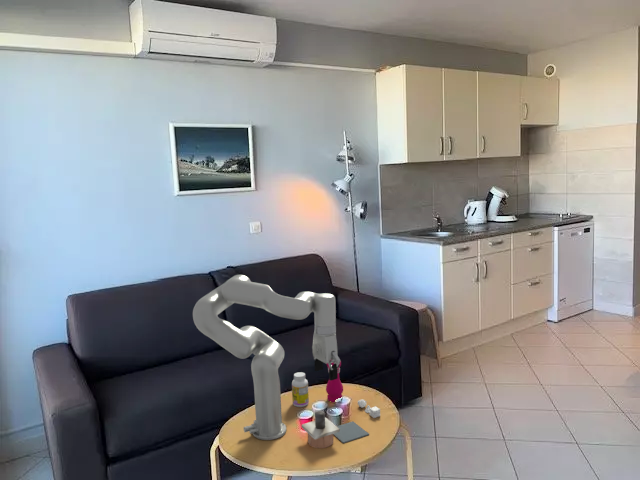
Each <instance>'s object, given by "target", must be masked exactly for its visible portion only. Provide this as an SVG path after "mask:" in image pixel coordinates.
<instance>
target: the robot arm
mask: <svg viewBox="0 0 640 480" xmlns="http://www.w3.org/2000/svg"><path fill="white" fill-rule="evenodd" d="M233 304H238V305H245V306H249V307H253V308H260V309H263V310H265V311H266V312H268V313H270V314H272V315H275V316H277V317H280V318H285V319H289V320H296V321H297V320H304V319H306V318H308V317H309V315H310V314H311V313H314V315H313V318H314V321H313V322H314V332H313V337H312V346H311V349H312V357H313V360H314V371H315V372H319V371H322V370H323V369H324V364H325V365H327V363H328V364H329V367H330V369H329V372H328V381H329V380H330V381H331V380H335V379H337V378H338V371H337V369H338V367H339V364H340V361H341V359H340V357H339V356H338V343H337V342H338V341H337V326H336V325H337V318H336V316H337V315H336V313H337V310H336V309H337V308H336V296H335V295H334V294H331V293H328V292H327V293H326V292H325V293H316V292H312V291H300V292H299V293H297V295H296V296H295V297H290V296H285V295H281V294H278V293H277V292H275V291H274V290H273V289H272V288H271V287H270V285H268V284H264V283H260V282H256V281H255V282H253V281H251V279H250V278H249V277H248V276H246V275H244V274H235V275H233V276H232V277H231V278H229V279H227V280H226V281H224V283H222V284H221V285H219V286H218V287H216V288H215V289H213V290H211V291H209V292H208V293H207V294H205V295H204V296H202V297H201V298H200V299H198V300H197V301H196V303H195V305H194V307H193V309H192V319H193V320H192V321H193V323H194V325H195V326H196V329H198V331H199V332H200V333H201V334H203V335H204V336H206V337H208V338H209V339H211V340H212V341H214V342H215V343H216V344H217V345H219V346H220V347H222V348H223V349H225V350H226V351H227V352H229V353H231V354H232V355H233V356H234V357H236V358H238V359H240V360H241V359H243V360H244V359H247V358H249V357H250V356H251V355H252V354H253V355H254V357H253V358H252V359H251V360H252V361H251V364H250V367H251V368H250V369H251V371H250V372H251V375H252V380H253V390H254V391H253V393H254V407H255V408H254V409H255V419H254V420H253V423H251V425H246V426H243V432H244V433H249V434H252V435H253V437H254V438H256V439H258V440H262V441H271V440H272V441H273V440H276V439H280V438H282V437H283V436H284V435H285V434H286V433H287V425H286V424H285V423H284V422H283V418H282V417H283V415H282V397H281V381H280V376H279V368H280V366H281V364H282V362H283V360H284V359H285V350H284V348H283V346H282V345H281V344H280V343H279V342H277V340H275V339H273V338H272V337H271V336H269V335H268V334H267V333H265V332H264V331H262V330H261V329H259V328H257V327H255V326H254V325H245V326H242V327H240V328H239V327H236V326H234V324H232V323H231V322H230V321H228V320H225V319H222V318H220V317H219V316H218V315H220V314H221V313H222V312H223V311H225V310H226V309H228V308H229V307H231V306H232V305H233ZM330 360H331V361H330ZM333 362H334V364H333V366H332V364H331V363H333ZM339 368H340V367H339Z"/></svg>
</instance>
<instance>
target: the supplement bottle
mask: <svg viewBox="0 0 640 480" xmlns="http://www.w3.org/2000/svg"><path fill="white" fill-rule="evenodd" d="M291 392H292V405H293V406H295V407H298V408H303V407H306V406H308V404H309V402H310V401H309V382H308V379H306V373H305V372H302V371H301V372H295V373H293V380H292V382H291Z"/></svg>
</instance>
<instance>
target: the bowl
mask: <svg viewBox="0 0 640 480" xmlns="http://www.w3.org/2000/svg"><path fill="white" fill-rule="evenodd" d="M307 442H308V443H307V444H308V445H309V446H310V447H312V448H315V449H325V448H329V447H331V446H332V445H333V444H334V435H333V434H331V435H328V436H324V437H321V438H318V439H314V438H312V437H311V436H310V435H309V434H308V433H307Z"/></svg>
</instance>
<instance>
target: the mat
mask: <svg viewBox="0 0 640 480" xmlns="http://www.w3.org/2000/svg"><path fill="white" fill-rule="evenodd" d="M336 426H337V427H338V428H339V429H340V432H337V433H334V434H333V437H334V436H335V438H336V439H337V440H339V441H340V442H341V443H342V444H346V443H348V442H352V441H354V440H358V439H360V438H363V437H364V438H365V437H366V436H369V435H370V433H369V432H367V430H365V429H363V428H362V427H361V426H360V425H358V424H357V423H356V422H355V421H353V420H352V421H350V422H345V423H343V424H339V425H336Z"/></svg>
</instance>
